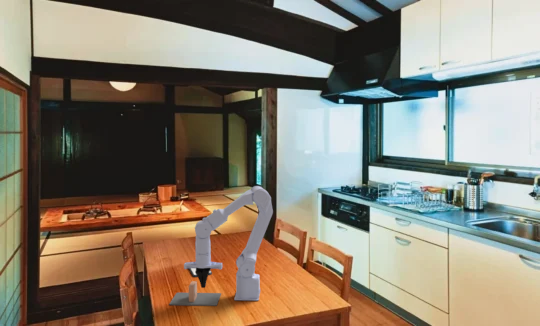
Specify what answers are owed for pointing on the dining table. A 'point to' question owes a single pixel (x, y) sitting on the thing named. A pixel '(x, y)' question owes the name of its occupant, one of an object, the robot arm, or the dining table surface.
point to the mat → (200, 300)
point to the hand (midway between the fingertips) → (203, 286)
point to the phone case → (195, 273)
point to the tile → (192, 291)
